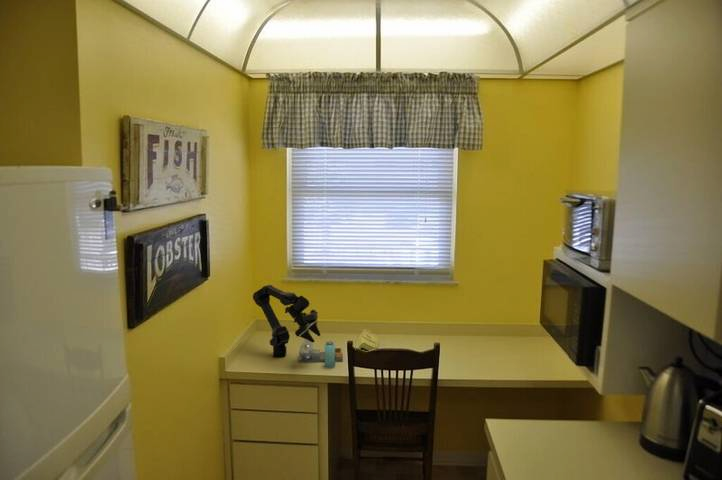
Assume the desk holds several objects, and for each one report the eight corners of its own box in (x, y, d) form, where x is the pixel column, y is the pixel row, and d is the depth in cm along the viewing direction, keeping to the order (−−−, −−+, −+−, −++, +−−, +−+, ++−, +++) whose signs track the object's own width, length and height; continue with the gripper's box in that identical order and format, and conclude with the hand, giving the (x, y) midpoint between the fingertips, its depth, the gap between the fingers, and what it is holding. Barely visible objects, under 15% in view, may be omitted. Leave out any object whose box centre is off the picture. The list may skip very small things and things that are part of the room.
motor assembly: (298, 362, 267) (298, 346, 266) (299, 355, 278) (299, 339, 277) (342, 361, 268) (342, 346, 267) (342, 354, 279) (342, 339, 278)
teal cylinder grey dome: (324, 368, 259) (324, 344, 258) (324, 364, 265) (324, 340, 263) (334, 367, 260) (334, 344, 258) (335, 364, 265) (334, 340, 263)
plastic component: (377, 348, 281) (361, 341, 281) (371, 360, 283) (355, 352, 282) (377, 334, 301) (362, 327, 300) (372, 345, 302) (356, 338, 302)
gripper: (302, 311, 253) (322, 336, 253) (314, 301, 271) (333, 324, 271) (286, 324, 257) (306, 348, 256) (300, 313, 275) (318, 336, 274)
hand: (316, 338), depth 264 cm, fingers open, 9 cm apart
